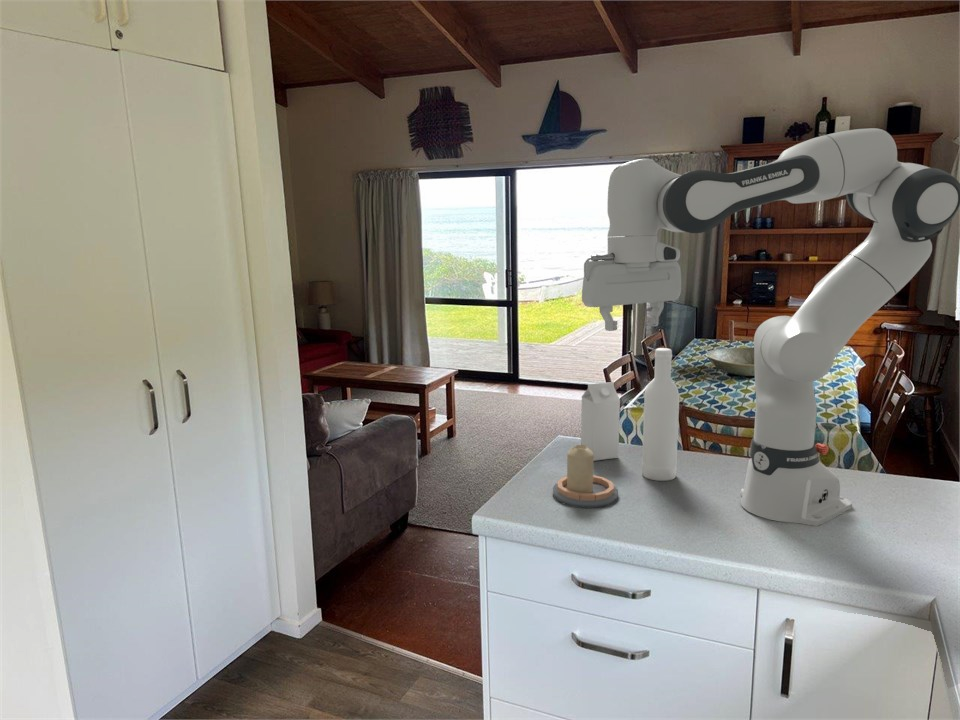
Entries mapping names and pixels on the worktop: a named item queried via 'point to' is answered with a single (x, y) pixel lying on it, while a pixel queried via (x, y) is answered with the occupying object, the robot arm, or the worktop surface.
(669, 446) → the bottle
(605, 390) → the milk carton
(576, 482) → the candle
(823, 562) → the worktop surface
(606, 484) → the tray
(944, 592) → the worktop surface
